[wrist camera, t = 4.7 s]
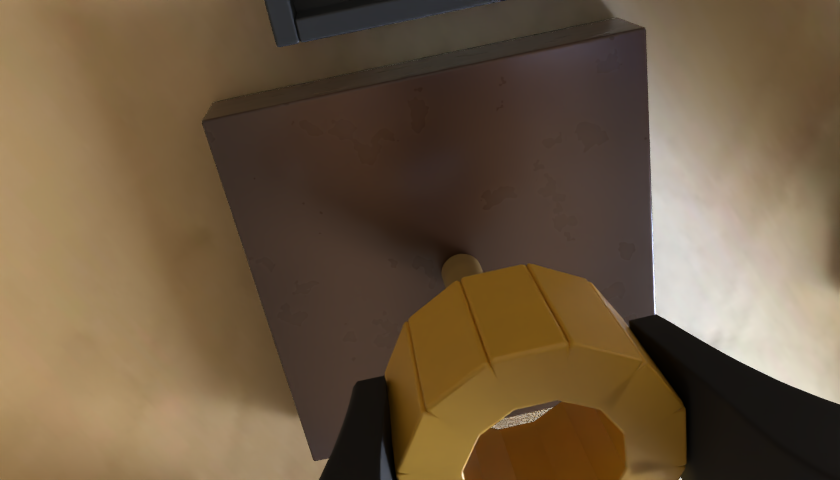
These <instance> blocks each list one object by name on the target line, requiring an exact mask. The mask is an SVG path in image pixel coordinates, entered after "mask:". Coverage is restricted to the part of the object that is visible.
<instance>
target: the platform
mask: <svg viewBox="0 0 840 480" xmlns="http://www.w3.org/2000/svg"><path fill="white" fill-rule="evenodd" d="M202 125H203V128H204V131H205V134H206V137H207V140H208V143H209V146H210V149H211V152H212V155H213V158H214V161H215V164H216V167H217V170H218V173H219V176H220V179H221V182H222V186H223V189H224V192H225V195H226V198H227V201H228V204H229V207H230V210H231V213H232V216H233V219H234V222H235V225H236V228H237V231H238V234H239V237H240V240H241V243H242V246H243V249H244V252H245V255H246V258H247V261H248V264H249V267H250V270H251V273H252V276H253V279H254V282H255V285H256V288H257V291H258V294H259V297H260V300H261V303H262V306H263V309H264V312H265V315H266V318H267V322H268V325H269V328H270V331H271V334H272V337H273V340H274V343H275V346H276V349H277V352H278V355H279V358H280V361H281V364H282V367H283V370H284V373H285V376H286V379H287V382H288V385H289V388H290V391H291V394H292V397H293V400H294V403H295V406H296V409H297V412H298V415H299V418H300V421H301V424H302V427H303V430H304V433H305V436H306V439H307V442H308V445H309V448H310V451H311V455H312V458H313V460H314V461H318V460H322V459H327V458H329V457H330V455H331V453H332V450H333V448H334V445H335V443H336V440H337V438H338V435H339V432H340V430H341V427H342V425H343V422H344V419H345V416H346V413H347V409H348V406H349V402H350V399H351V395H352V390H353V386H354V385H355V384H356V382H357V381H361V380H366V379H370V378H374V377H379V376H383V375H385V370H386V368H387V365H388V363H389V360H390V358H391V355H392V353H393V350H394V347H395V345H396V342H397V340H398V337H399V335H400V332H401V330H402V327H403V325H404V323H405V322H408V320H409V318H410V317H411V316H412V315H413V314H414V313H416V312H417V311H418V310H419V309H421V308H422V307H423V306H424V305H426V304H427V303H428V302H429V301H431V300H432V299H433V298H434V297H436V296H437V295H438V294H439V293H441V292H442V291H443V290H444V289H446V288H447V287H448V286H449V285H451V284H452V283H453V282H454V281H459V282H461V279H462V278H463V277H466V276H471V275H475V274H480V273H484V272H489V271H493V270H498V269H502V268H507V267H512V266H516V265H521V264H522V265H525V266H527V264H528V263H530V264H534V265H538V266H541V267H545V268H549V269H552V270H556V271H560V272H563V273H567V274H571V275H574V276H578V277H582V278H585V279H586V280H587V281H588V282H591V283H592V284H593V285H594V286H595V287H596V288H597V290H598V291H599V292H600V293H601V294H602V295H603V296H604V298H605V299H606V300H607V301H608V302H609V303H610V305H611V306H612V307H613V308H614V309H615V310H616V311H617V313H618V314H619V315H620V316H621V317H622V318H623V320H624V321H625V322H626V324H627V325H628V327H629V320H633V319H637V318H642V317H646V316H651V315H655V314H656V311H655V282H654V253H653V225H652V196H651V167H650V139H649V110H648V81H647V52H646V29H645V28H644V27H641V26H639V25H636V24H633V23H631V22H628V21H625V20H623V19H620V18H613V19H608V20H603V21H599V22H594V23H589V24H584V25H580V26H575V27H570V28H565V29H560V30H556V31H551V32H546V33H541V34H537V35H532V36H527V37H522V38H518V39H513V40H508V41H503V42H498V43H494V44H489V45H484V46H479V47H475V48H470V49H465V50H460V51H456V52H451V53H446V54H441V55H436V56H432V57H427V58H422V59H417V60H413V61H408V62H403V63H398V64H394V65H389V66H384V67H379V68H374V69H370V70H365V71H360V72H355V73H351V74H346V75H341V76H336V77H332V78H327V79H322V80H317V81H313V82H308V83H303V84H298V85H293V86H289V87H284V88H279V89H274V90H270V91H265V92H260V93H255V94H251V95H246V96H241V97H236V98H231V99H227V100H222V101H217V102H214V103H212V105H211V107H210V108H209V110H208V112H207V113H206V115H205V117H204V119H203V120H202ZM560 402H561V401H558V400H557V401H552V402H548V403H543V404H539V405H535V406H530V407H526V408H521V409H517V410H514V411H512V412H511V413H510V414H508V415H507V416H506V417H504V418H507V417H512V416H516V415H521V414H525V413H530V412H534V411H538V410H543V409H547V408H552V407H555V406H556V405H557V404H559V403H560Z"/></svg>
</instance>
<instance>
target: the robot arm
mask: <svg viewBox="0 0 840 480" xmlns="http://www.w3.org/2000/svg"><path fill="white" fill-rule="evenodd" d="M629 328H630V329H631V331H632V332H633V334H634V335H635V336H636V338H637V339H638V341H639V342H640V343H641V345H642V346H643V347H644V349H645V350H646V352H647V353H648V354H649V356H650V357H651V359H652V360H653V361H654V363H655V364H656V366H657V367H658V368H659V370H660V371H661V372H662V374H663V375H664V377H665V378H666V379H667V381H668V382H669V384H670V385H671V386H672V388H673V389H674V391H675V392H676V393H677V395H678V396H679V397H680V399H681V400H682V402H683V405H684V407H685V408H686V441H687V464H686V465H685V470H684V472H683V473H682V475H681V476H680V477H681V478H682V480H840V404H837V403H834V402H831V401H828V400H825V399H823V398H820V397H817V396H815V395H812V394H810V393H807V392H805V391H802V390H800V389H797V388H795V387H792V386H790V385H787V384H785V383H783V382H780V381H778V380H776V379H774V378H772V377H770V376H768V375H766V374H763V373H761V372H759V371H757V370H755V369H753V368H751V367H749V366H747V365H745V364H743V363H741V362H739V361H737V360H735V359H733V358H732V357H730V356H728V355H726V354H724V353H722V352H721V351H719V350H717V349H715V348H713V347H712V346H710V345H708V344H706V343H705V342H703V341H701V340H699V339H698V338H696V337H694V336H693V335H691V334H689V333H687V332H686V331H684V330H682V329H681V328H679V327H677V326H676V325H674V324H672V323H671V322H669V321H667V320H665V319H664V318H662V317H660V316H658V315H656V314H655V315H651V316H646V317H642V318H637V319H633V320H629ZM319 480H397V478H396V472H395V464H394V455H393V447H392V435H391V420H390V407H389V399H388V391H387V383H386V379H385V375H383V376H379V377H374V378H370V379H366V380H361V381H357V382H356V384H355V385H354V386H353V390H352V395H351V399H350V402H349V406H348V409H347V413H346V416H345V419H344V422H343V425H342V427H341V430H340V432H339V435H338V438H337V440H336V443H335V445H334V448H333V450H332V453H331V455H330V457H329V460H328V462H327V464H326V466H325V468H324V470H323V472H322V475H321V477H320V479H319Z"/></svg>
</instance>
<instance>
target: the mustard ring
mask: <svg viewBox="0 0 840 480" xmlns="http://www.w3.org/2000/svg"><path fill="white" fill-rule="evenodd" d="M385 379H386V383H387V391H388V399H389V407H390V420H391V435H392V447H393V455H394V464H395V472H396V478H397V480H678V479H679V478H680V476H681V475H682V473H683V472H684V470H685V465H686V464H687V441H686V408H685V407H684V405H683V402H682V400H681V399H680V397H679V396H678V395H677V393H676V392H675V391H674V389H673V388H672V386H671V385H670V384H669V382H668V381H667V379H666V378H665V377H664V375H663V374H662V372H661V371H660V370H659V368H658V367H657V366H656V364H655V363H654V361H653V360H652V359H651V357H650V356H649V354H648V353H647V352H646V350H645V349H644V347H643V346H642V345H641V343H640V342H639V341H638V339H637V338H636V336H635V335H634V334H633V332H632V331H631V329H630V328H629V327H628V325H627V324H626V322H625V321H624V320H623V318H622V317H621V316H620V315H619V314H618V313H617V311H616V310H615V309H614V308H613V307H612V306H611V305H610V303H609V302H608V301H607V300H606V299H605V298H604V296H603V295H602V294H601V293H600V292H599V291H598V290H597V288H596V287H595V286H594V285H593V284H592V283H591V282H588V281H587V280H586V279H585V278H582V277H578V276H574V275H571V274H567V273H563V272H560V271H556V270H552V269H549V268H545V267H541V266H538V265H534V264H530V263H528V264H527V266H525V265H522V264H521V265H516V266H512V267H507V268H502V269H498V270H493V271H489V272H484V273H480V274H475V275H471V276H466V277H463V278H462V279H461V282H459V281H454V282H453V283H452V284H451V285H449V286H448V287H447V288H446V289H444V290H443V291H442V292H441V293H439V294H438V295H437V296H436V297H434V298H433V299H432V300H431V301H429V302H428V303H427V304H426V305H424V306H423V307H422V308H421V309H419V310H418V311H417V312H416V313H414V314H413V315H412V316H411V317H410V318H409V320H408V322H405V323H404V325H403V327H402V330H401V332H400V335H399V337H398V340H397V342H396V345H395V347H394V350H393V353H392V355H391V358H390V360H389V363H388V365H387V368H386V370H385ZM557 400H558V401H561V402H560V403H559V404H557V405H556V406H555V407H553V408H552V409H550V410H549V411H548V412H546V413H545V414H544V415H542V416H541V417H540V418H538V419H537V420H535V421H534V422H530V423H526V424H521V425H517V426H513V427H508V428H504V429H494V428H491V427H492V426H493V425H495V424H496V423H497V422H499V421H500V420H502V419H503V418H504V417H506V416H507V415H508V414H510V413H511V412H512V411H514V410H517V409H521V408H526V407H530V406H535V405H539V404H543V403H548V402H552V401H557Z"/></svg>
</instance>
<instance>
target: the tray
mask: <svg viewBox="0 0 840 480" xmlns="http://www.w3.org/2000/svg"><path fill="white" fill-rule="evenodd" d="M264 1H265V5H266V9H267V12H268V16H269V20H270V24H271V27H272V31H273V35H274V39H275V42H276V45H277V47H283V46H288V45H293V44H298V43H299V41H301V42H307V41H312V40H317V39H322V38H327V37H331V36H336V35H341V34H346V33H351V32H355V31H360V30H365V29H370V28H375V27H379V26H384V25H389V24H394V23H399V22H404V21H408V20H413V19H418V18H423V17H428V16H432V15H437V14H442V13H447V12H452V11H456V10H461V9H466V8H471V7H476V6H480V5H485V4H490V3H495V2H500V1H505V0H264Z"/></svg>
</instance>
